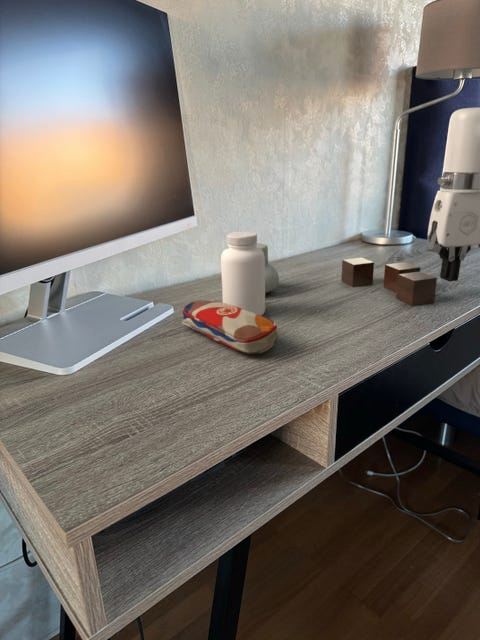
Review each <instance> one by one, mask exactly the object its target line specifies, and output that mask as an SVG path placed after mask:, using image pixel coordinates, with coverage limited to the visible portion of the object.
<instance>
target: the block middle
mask: <svg viewBox="0 0 480 640" xmlns="http://www.w3.org/2000/svg"><path fill="white" fill-rule="evenodd" d="M412 272H421V267H420V266H418V265H415V264H412V263H409V262H406V261H403V262H394V263H387V264H386V263H385V264H384V275H383V286H382V287H383V288H384V289H387V290H389V291H391V292H393V293H395V294H397V283H398V274H405V273H412Z"/></svg>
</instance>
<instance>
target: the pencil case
mask: <svg viewBox="0 0 480 640" xmlns="http://www.w3.org/2000/svg"><path fill="white" fill-rule="evenodd" d="M182 315H183V317H182V321H181V323H182V325H184V326H185V327H188V328H190V329H192V330H195V331H197V332H200V333H201V334H203V335H205V336H207V337H208V338H210V339H212V340H214V341H216V342H219V343H221V344H223V345H225V346H227V347H229V348H231V349H233V350H235V351H237V352H241V353H243V354H247V355H259V354H262V353H265V352H267V351H268V350H270V349H271V348H272V347H273V346H274V345H275V344H276V343H277V341H278V339H279V334H278V331H277V329H278V326H277V323H276V322H275V321H274V320H273V319H271V318H269V317H267V316H264V315H258V314H255V313H252V312H249V311H247V310H244V309H241V308H239V307H236V306H233V305H229V304H226V303H223V301H222V302H221V301H217V300H216V301H215V300H208V299H207V300H205V299H204V300H195V301H191V302H189V303H187V304H186V305H184V307H183V310H182Z"/></svg>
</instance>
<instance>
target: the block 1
mask: <svg viewBox="0 0 480 640" xmlns="http://www.w3.org/2000/svg"><path fill="white" fill-rule="evenodd" d="M374 269H375V262H374V261H372V260H369V259H366V258H364V257H355V258H346V259H342V261H341V279H340V280H341V282H342V283H344V284H346V285H348V286H349V287H352V288H356V287H364V286H370V285H371V286H372V285H373V283H374Z"/></svg>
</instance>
